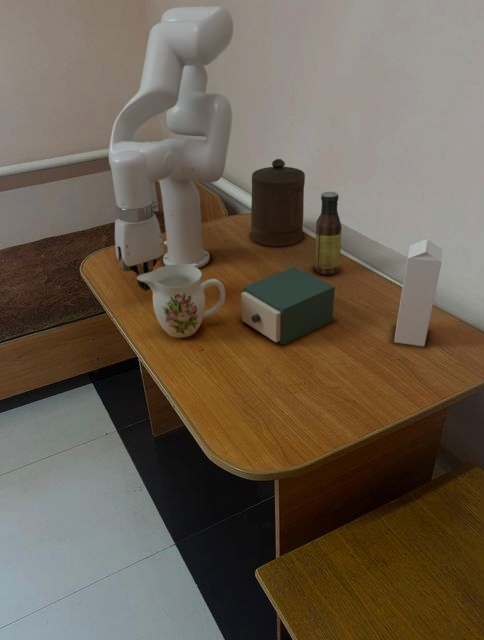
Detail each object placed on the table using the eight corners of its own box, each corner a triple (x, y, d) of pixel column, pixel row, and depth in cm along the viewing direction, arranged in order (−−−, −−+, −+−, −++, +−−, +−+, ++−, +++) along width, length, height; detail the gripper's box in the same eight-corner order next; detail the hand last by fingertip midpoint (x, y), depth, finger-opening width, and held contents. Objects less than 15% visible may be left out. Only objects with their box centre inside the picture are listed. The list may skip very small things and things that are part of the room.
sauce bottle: (344, 271, 137) (351, 194, 126) (325, 278, 134) (331, 200, 123) (326, 262, 142) (331, 188, 130) (308, 269, 139) (312, 193, 127)
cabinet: (282, 345, 111) (283, 309, 106) (244, 320, 119) (243, 286, 114) (332, 321, 118) (335, 286, 113) (293, 299, 126) (294, 266, 121)
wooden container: (312, 233, 158) (316, 156, 145) (284, 251, 148) (285, 171, 136) (270, 223, 166) (270, 149, 153) (241, 239, 156) (239, 162, 144)
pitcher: (232, 335, 114) (229, 277, 107) (147, 348, 111) (139, 290, 104) (221, 310, 123) (218, 255, 115) (142, 322, 120) (134, 266, 112)
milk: (393, 342, 110) (409, 242, 98) (395, 327, 115) (411, 229, 102) (425, 347, 108) (444, 245, 96) (425, 331, 113) (444, 232, 100)
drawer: (271, 344, 109) (271, 316, 106) (237, 322, 117) (236, 294, 113) (322, 320, 117) (324, 292, 113) (287, 300, 124) (288, 274, 120)
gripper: (156, 200, 122) (164, 273, 132) (96, 215, 115) (109, 291, 125) (174, 208, 117) (181, 283, 127) (112, 225, 110) (124, 303, 120)
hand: (145, 287), depth 126 cm, fingers closed
